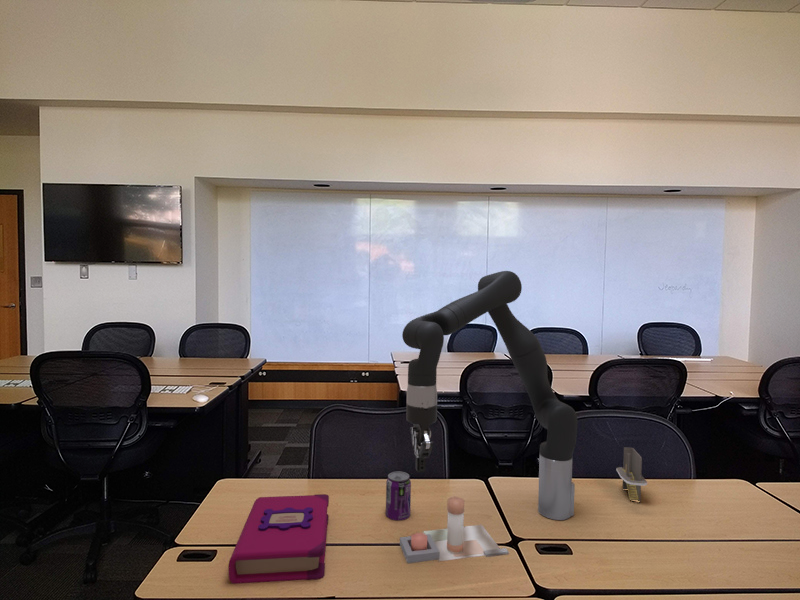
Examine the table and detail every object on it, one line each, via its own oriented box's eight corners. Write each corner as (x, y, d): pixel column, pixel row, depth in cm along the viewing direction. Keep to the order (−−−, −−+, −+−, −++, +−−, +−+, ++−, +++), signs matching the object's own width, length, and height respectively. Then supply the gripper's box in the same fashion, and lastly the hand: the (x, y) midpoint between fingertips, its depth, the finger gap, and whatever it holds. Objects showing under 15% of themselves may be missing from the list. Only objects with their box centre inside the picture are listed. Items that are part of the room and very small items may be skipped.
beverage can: (407, 524, 128) (408, 482, 128) (383, 521, 129) (383, 479, 129) (412, 512, 135) (412, 472, 135) (388, 509, 136) (389, 469, 136)
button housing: (429, 543, 119) (429, 534, 119) (439, 561, 111) (439, 551, 111) (399, 547, 117) (399, 537, 117) (407, 566, 109) (407, 555, 109)
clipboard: (484, 524, 129) (484, 519, 129) (511, 557, 113) (511, 552, 113) (416, 532, 124) (416, 527, 124) (433, 567, 109) (434, 562, 108)
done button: (424, 547, 116) (424, 531, 116) (429, 556, 112) (429, 540, 112) (409, 549, 115) (409, 533, 115) (413, 558, 112) (413, 542, 111)
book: (228, 586, 102) (228, 552, 101) (253, 521, 129) (254, 494, 129) (324, 580, 104) (324, 548, 104) (329, 518, 132) (329, 492, 131)
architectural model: (607, 512, 137) (609, 464, 136) (589, 478, 162) (590, 437, 161) (679, 520, 133) (681, 470, 133) (649, 483, 158) (651, 441, 157)
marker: (459, 543, 118) (460, 496, 117) (465, 553, 113) (466, 504, 113) (444, 545, 117) (445, 497, 116) (449, 555, 112) (450, 505, 112)
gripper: (400, 395, 118) (399, 462, 119) (413, 409, 105) (412, 484, 106) (428, 394, 120) (427, 460, 120) (444, 408, 107) (443, 481, 108)
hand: (420, 471), depth 113 cm, fingers closed
